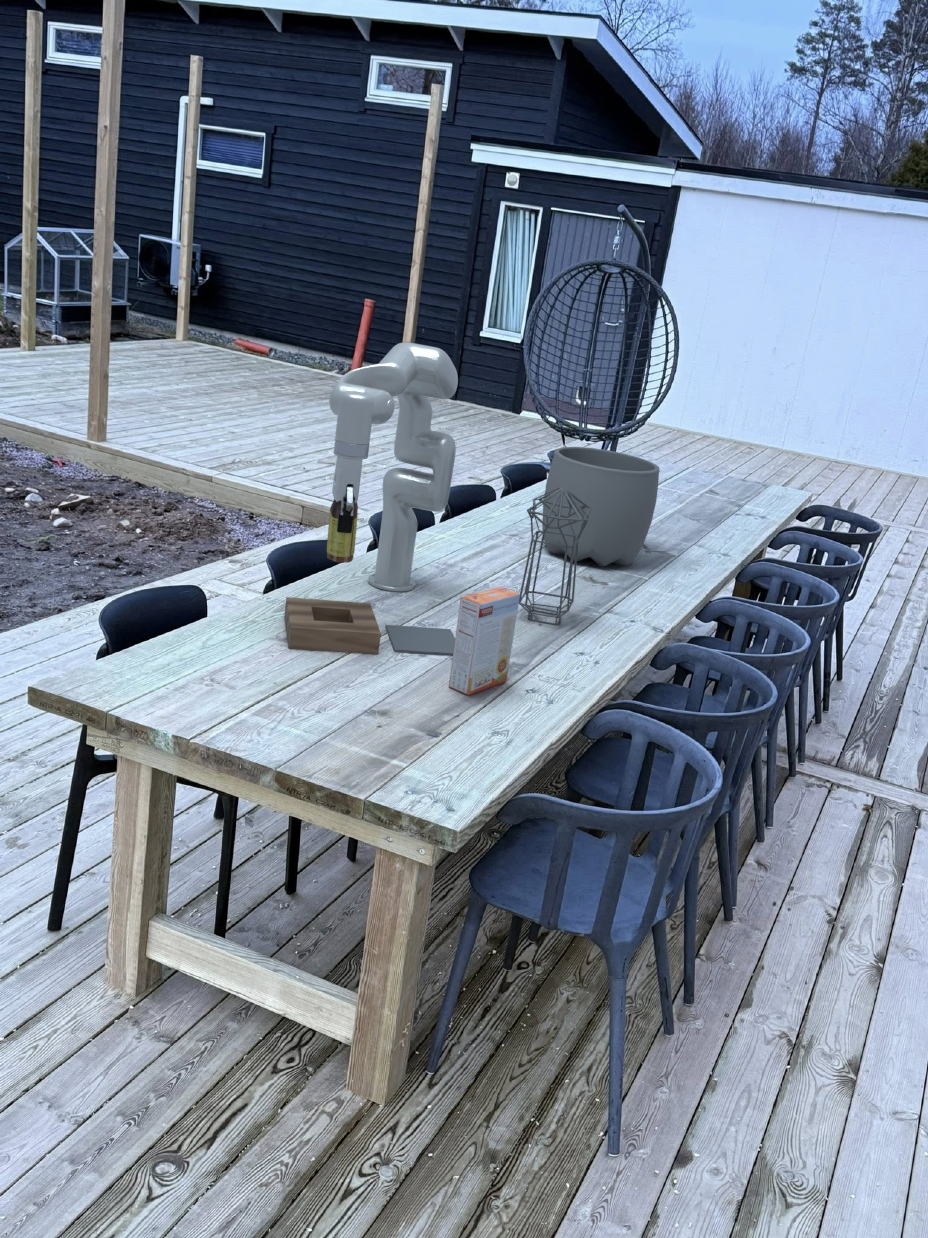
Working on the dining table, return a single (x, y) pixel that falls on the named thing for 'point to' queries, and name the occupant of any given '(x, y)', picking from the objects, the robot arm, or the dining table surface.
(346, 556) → the sauce bottle
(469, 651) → the cracker box
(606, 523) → the planter pot
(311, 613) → the holder block
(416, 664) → the dining table surface
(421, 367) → the robot arm
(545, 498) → the geometric lantern
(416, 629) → the rubber mat
